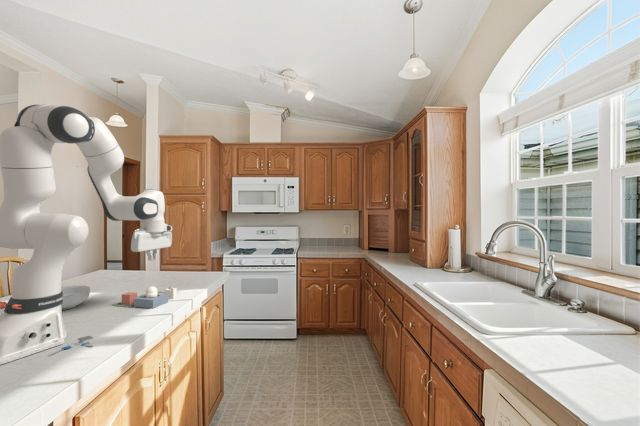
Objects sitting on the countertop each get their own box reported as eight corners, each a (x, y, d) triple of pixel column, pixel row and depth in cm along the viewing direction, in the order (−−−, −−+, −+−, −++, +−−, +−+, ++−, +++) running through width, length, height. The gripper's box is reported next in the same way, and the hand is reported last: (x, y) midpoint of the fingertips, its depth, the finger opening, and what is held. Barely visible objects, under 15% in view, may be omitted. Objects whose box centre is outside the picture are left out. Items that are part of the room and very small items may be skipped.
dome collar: (153, 308, 126) (153, 300, 126) (133, 306, 127) (134, 298, 127) (167, 302, 135) (167, 294, 135) (149, 300, 136) (149, 292, 136)
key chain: (83, 337, 98) (83, 334, 98) (110, 336, 98) (110, 334, 98) (47, 357, 84) (47, 354, 84) (78, 357, 84) (78, 354, 84)
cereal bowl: (44, 304, 129) (44, 287, 129) (93, 299, 136) (93, 283, 136) (29, 316, 114) (29, 297, 114) (84, 311, 121) (85, 293, 121)
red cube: (129, 305, 129) (129, 295, 129) (121, 305, 130) (121, 294, 130) (136, 303, 133) (137, 292, 133) (129, 302, 134) (129, 292, 134)
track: (130, 307, 127) (130, 306, 127) (112, 305, 128) (112, 304, 128) (168, 293, 149) (168, 292, 149) (152, 291, 151) (152, 291, 151)
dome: (152, 300, 128) (152, 288, 128) (143, 299, 129) (143, 287, 129) (159, 297, 133) (159, 285, 133) (150, 296, 134) (150, 284, 134)
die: (173, 298, 140) (173, 288, 140) (164, 298, 139) (164, 288, 139) (176, 296, 144) (176, 286, 144) (167, 296, 143) (168, 286, 143)
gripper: (140, 229, 120) (140, 264, 120) (174, 226, 140) (174, 257, 140) (126, 228, 121) (126, 263, 121) (162, 226, 141) (162, 256, 141)
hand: (152, 260), depth 131 cm, fingers closed
